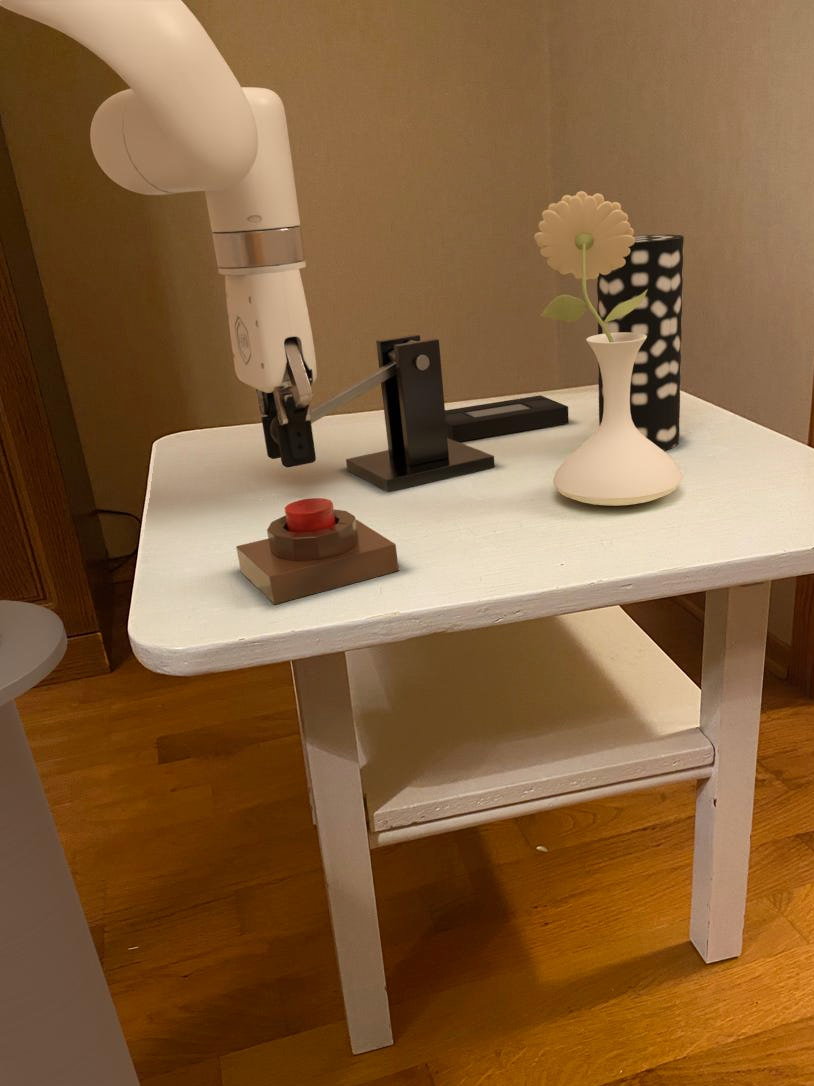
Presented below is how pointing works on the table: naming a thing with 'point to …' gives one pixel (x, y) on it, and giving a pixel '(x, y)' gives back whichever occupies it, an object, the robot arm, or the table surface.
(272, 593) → the button block
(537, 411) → the vhs tape
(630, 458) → the flower in vase
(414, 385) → the bracket
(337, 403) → the lever
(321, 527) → the button
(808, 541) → the table surface
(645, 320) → the white-spotted black cylinder
